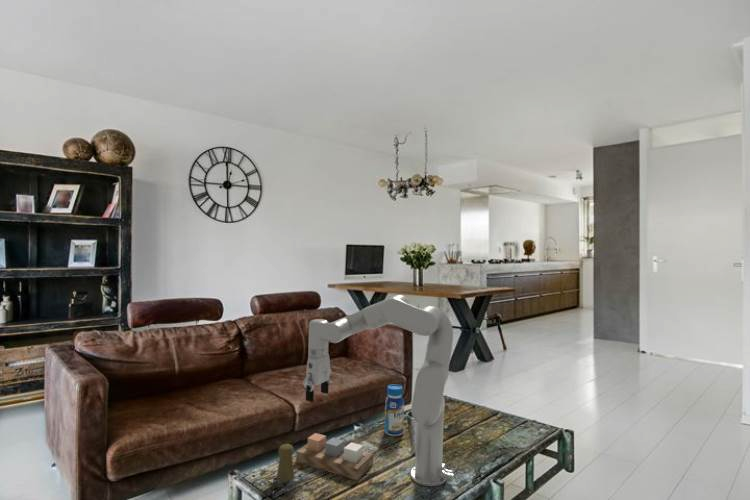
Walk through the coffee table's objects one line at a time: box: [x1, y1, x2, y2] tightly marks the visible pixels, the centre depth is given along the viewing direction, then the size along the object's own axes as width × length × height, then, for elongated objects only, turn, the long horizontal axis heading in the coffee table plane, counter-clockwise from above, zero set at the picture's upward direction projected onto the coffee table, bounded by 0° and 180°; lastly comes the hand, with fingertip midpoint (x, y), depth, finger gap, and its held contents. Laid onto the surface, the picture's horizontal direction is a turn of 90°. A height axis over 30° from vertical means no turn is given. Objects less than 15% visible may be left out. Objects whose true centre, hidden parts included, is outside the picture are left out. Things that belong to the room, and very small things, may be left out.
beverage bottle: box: [384, 383, 405, 437], centre depth 186 cm, size 8×8×20 cm
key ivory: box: [344, 442, 364, 464], centre depth 156 cm, size 5×5×5 cm
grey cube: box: [325, 437, 345, 458], centre depth 159 cm, size 5×5×5 cm
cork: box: [276, 443, 295, 483], centre depth 150 cm, size 6×6×11 cm
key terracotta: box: [307, 432, 327, 453], centre depth 163 cm, size 5×5×5 cm
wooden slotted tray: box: [295, 440, 374, 481], centre depth 160 cm, size 26×12×4 cm, turn 63°
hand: (317, 396), depth 164 cm, fingers open, 9 cm apart
